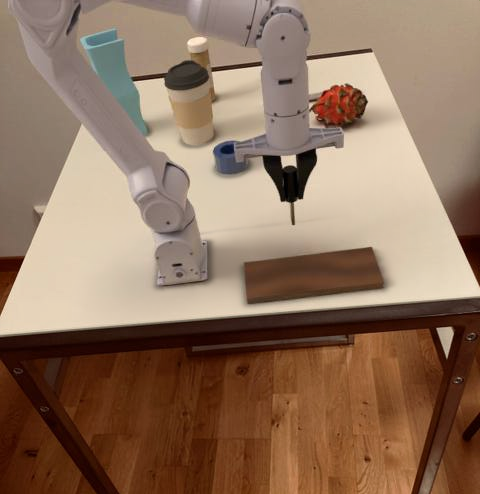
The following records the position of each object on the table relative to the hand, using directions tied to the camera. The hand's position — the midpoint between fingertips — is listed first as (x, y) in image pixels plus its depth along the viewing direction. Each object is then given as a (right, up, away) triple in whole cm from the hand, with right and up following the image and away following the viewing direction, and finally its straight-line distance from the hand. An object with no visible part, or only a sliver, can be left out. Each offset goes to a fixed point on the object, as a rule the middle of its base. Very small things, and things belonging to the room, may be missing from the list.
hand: (291, 196), depth 74 cm
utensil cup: (-9, +12, +27) cm, 31 cm away
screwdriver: (+1, -3, +3) cm, 4 cm away
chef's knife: (+10, +33, +42) cm, 54 cm away
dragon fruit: (+13, +23, +33) cm, 43 cm away
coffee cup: (-17, +21, +36) cm, 45 cm away
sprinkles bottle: (-15, +35, +48) cm, 62 cm away
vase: (-33, +25, +42) cm, 59 cm away
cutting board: (+3, -12, +3) cm, 12 cm away
